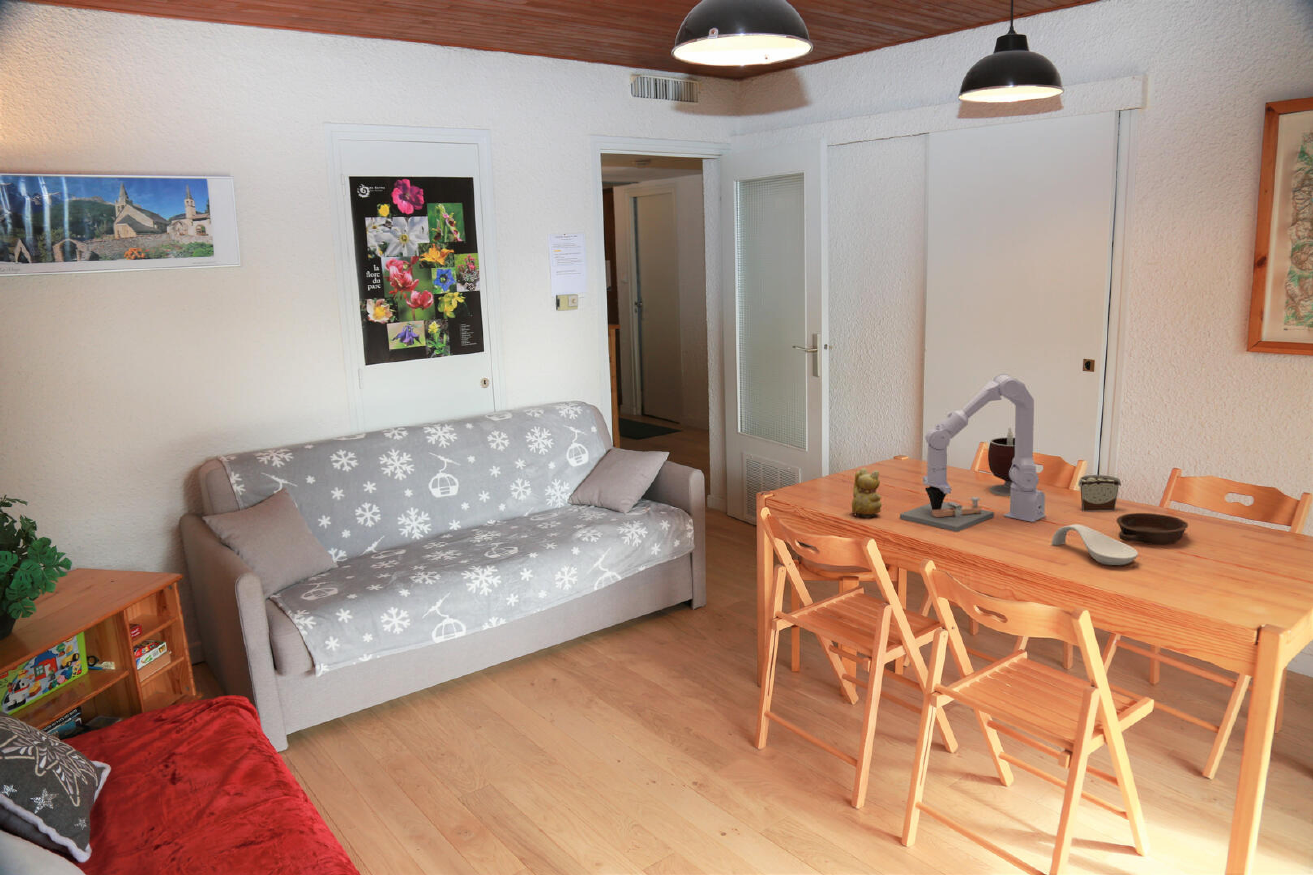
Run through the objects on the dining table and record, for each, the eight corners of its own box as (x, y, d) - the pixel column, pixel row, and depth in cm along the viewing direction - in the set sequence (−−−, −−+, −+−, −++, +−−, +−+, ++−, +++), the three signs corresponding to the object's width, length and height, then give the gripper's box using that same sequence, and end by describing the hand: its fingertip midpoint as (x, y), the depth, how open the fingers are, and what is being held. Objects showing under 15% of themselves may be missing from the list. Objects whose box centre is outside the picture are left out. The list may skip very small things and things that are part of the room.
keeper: (953, 512, 288) (953, 501, 287) (961, 517, 283) (961, 505, 282) (947, 513, 288) (947, 502, 287) (955, 517, 283) (955, 506, 282)
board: (993, 516, 287) (993, 512, 286) (957, 531, 274) (957, 526, 274) (936, 505, 302) (937, 500, 302) (899, 518, 289) (899, 514, 289)
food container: (1112, 505, 293) (1113, 474, 291) (1119, 510, 287) (1121, 479, 285) (1071, 505, 294) (1072, 475, 292) (1077, 511, 288) (1079, 479, 286)
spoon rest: (1147, 565, 241) (1148, 538, 240) (1115, 573, 237) (1117, 546, 235) (1071, 541, 262) (1072, 516, 261) (1040, 548, 257) (1041, 523, 256)
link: (977, 509, 289) (977, 496, 288) (983, 512, 286) (983, 498, 285) (931, 514, 286) (931, 500, 285) (936, 517, 283) (937, 503, 282)
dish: (1095, 536, 266) (1096, 519, 265) (1153, 524, 273) (1154, 508, 272) (1147, 553, 250) (1148, 535, 249) (1207, 540, 257) (1208, 523, 256)
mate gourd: (1032, 497, 305) (1034, 437, 301) (987, 495, 310) (989, 436, 305) (1029, 485, 320) (1031, 428, 316) (986, 484, 324) (988, 427, 320)
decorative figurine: (885, 514, 294) (885, 468, 291) (873, 521, 288) (873, 473, 285) (857, 510, 301) (857, 464, 298) (845, 516, 294) (845, 470, 291)
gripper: (914, 463, 291) (913, 505, 294) (935, 474, 277) (935, 518, 280) (935, 461, 292) (934, 503, 295) (958, 472, 278) (957, 515, 281)
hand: (936, 510), depth 288 cm, fingers closed
